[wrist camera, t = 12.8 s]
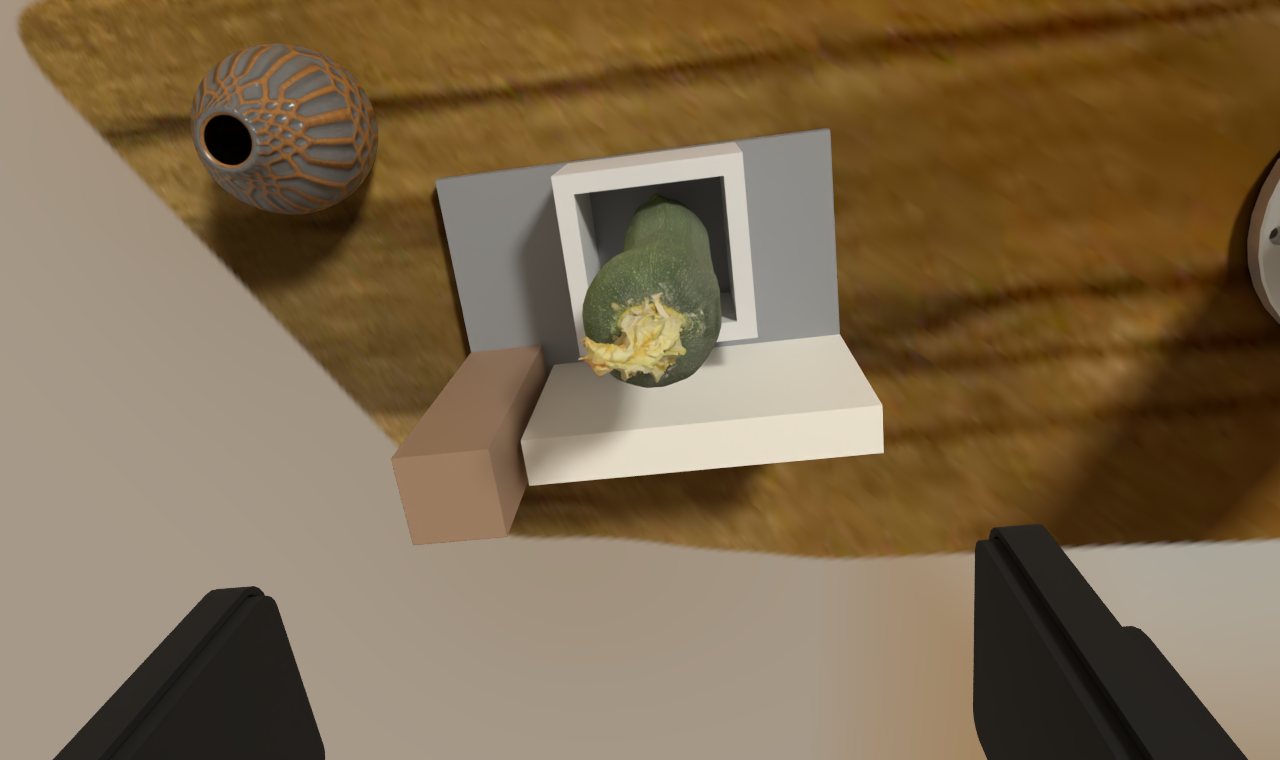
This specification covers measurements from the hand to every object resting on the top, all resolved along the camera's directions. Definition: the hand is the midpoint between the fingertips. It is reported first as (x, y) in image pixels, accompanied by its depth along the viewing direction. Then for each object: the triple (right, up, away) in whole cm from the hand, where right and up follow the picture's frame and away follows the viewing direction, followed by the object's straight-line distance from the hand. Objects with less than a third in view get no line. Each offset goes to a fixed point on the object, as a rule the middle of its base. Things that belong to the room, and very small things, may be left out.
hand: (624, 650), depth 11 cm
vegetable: (+1, +10, +28) cm, 30 cm away
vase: (-14, +16, +28) cm, 35 cm away
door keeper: (+1, +9, +29) cm, 30 cm away
